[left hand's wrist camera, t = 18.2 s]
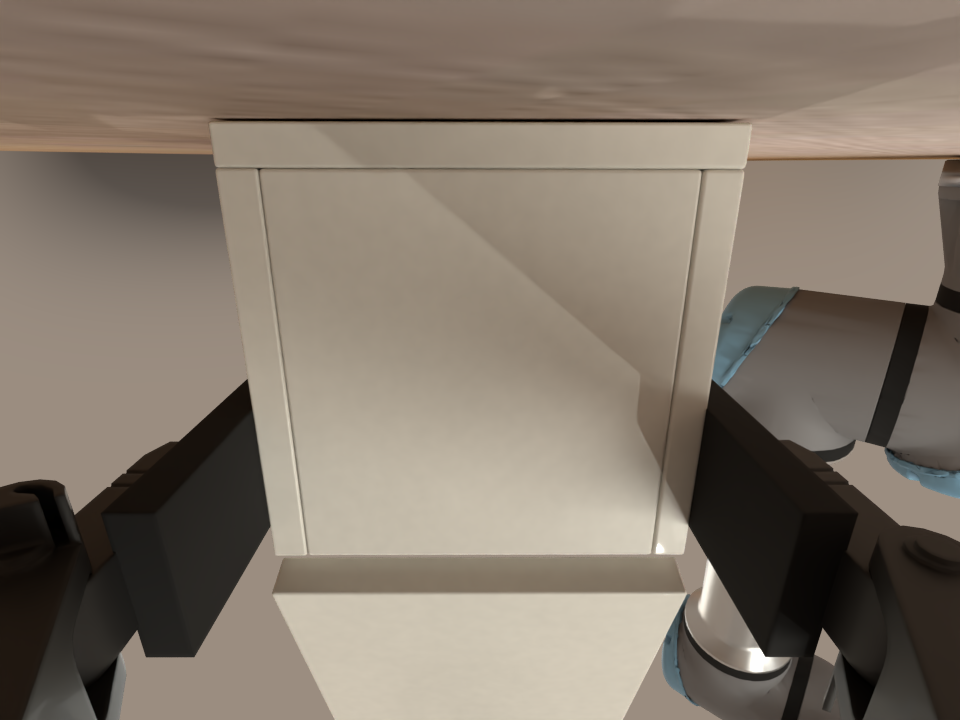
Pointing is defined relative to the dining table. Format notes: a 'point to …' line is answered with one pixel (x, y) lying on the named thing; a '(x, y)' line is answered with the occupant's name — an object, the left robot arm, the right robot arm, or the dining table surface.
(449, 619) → the lid
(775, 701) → the right robot arm
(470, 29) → the dining table surface
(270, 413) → the chest
